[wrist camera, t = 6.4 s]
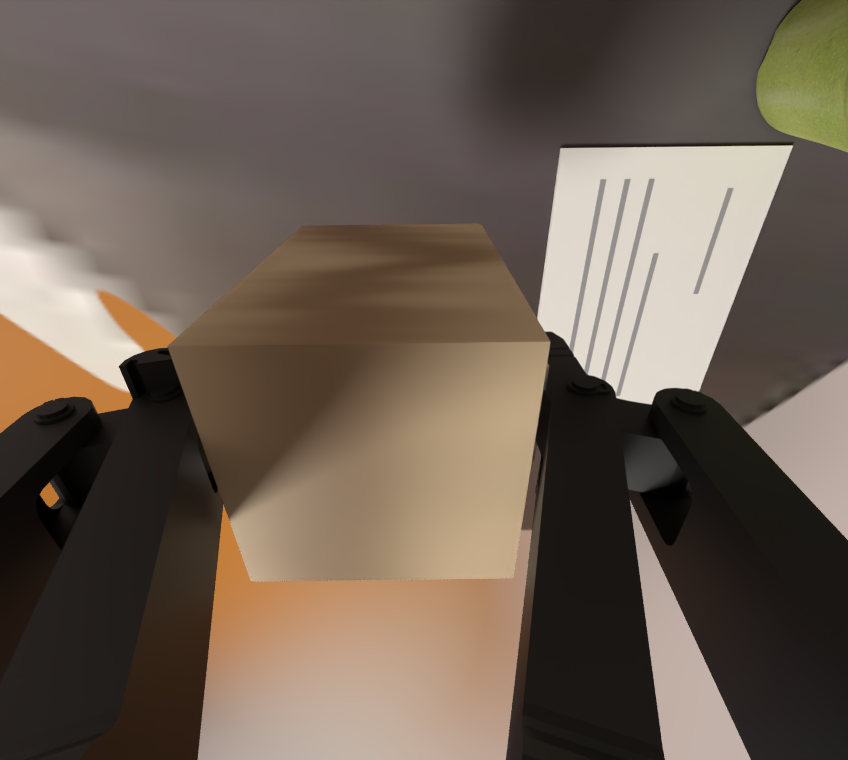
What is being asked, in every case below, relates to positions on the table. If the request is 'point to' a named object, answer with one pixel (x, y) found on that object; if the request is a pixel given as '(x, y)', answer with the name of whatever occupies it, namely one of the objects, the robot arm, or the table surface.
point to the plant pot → (808, 74)
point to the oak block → (370, 404)
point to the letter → (652, 256)
